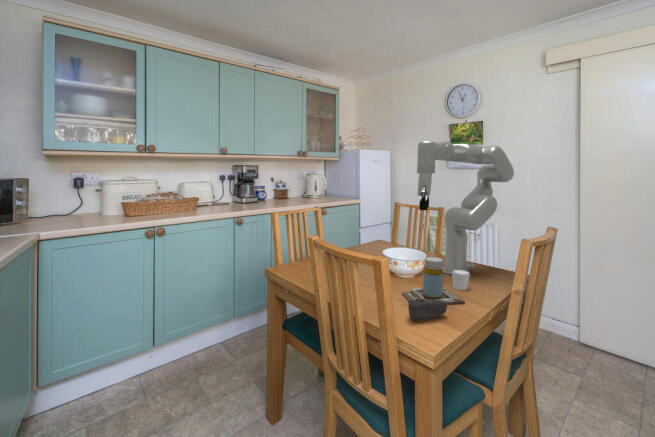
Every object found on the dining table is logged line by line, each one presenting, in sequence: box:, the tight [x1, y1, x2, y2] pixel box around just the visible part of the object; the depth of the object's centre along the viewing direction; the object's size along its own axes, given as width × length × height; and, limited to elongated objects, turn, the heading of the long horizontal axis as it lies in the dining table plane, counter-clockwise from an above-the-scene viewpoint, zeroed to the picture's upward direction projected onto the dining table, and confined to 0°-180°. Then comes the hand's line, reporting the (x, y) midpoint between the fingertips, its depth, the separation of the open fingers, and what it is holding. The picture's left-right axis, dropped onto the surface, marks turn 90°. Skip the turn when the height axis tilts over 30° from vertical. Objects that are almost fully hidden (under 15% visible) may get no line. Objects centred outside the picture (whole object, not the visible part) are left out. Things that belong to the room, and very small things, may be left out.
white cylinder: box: [451, 270, 471, 291], centre depth 132 cm, size 7×7×7 cm
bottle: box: [422, 256, 444, 299], centre depth 120 cm, size 7×7×15 cm
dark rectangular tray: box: [401, 287, 466, 306], centre depth 122 cm, size 20×12×2 cm, turn 98°
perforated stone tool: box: [407, 299, 448, 322], centre depth 106 cm, size 15×5×7 cm, turn 101°
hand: (424, 208), depth 140 cm, fingers open, 9 cm apart
